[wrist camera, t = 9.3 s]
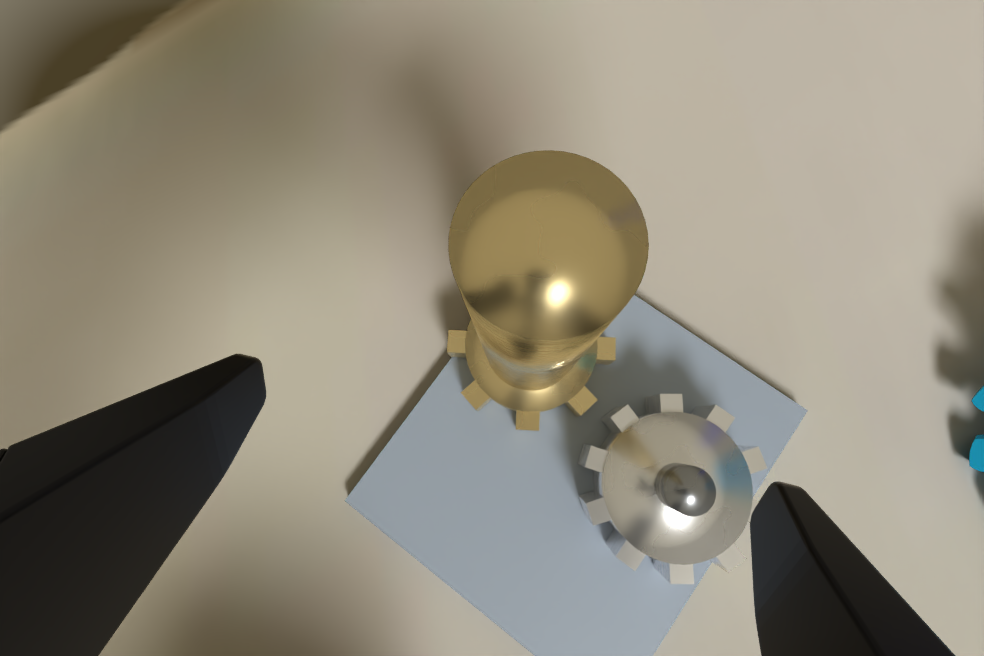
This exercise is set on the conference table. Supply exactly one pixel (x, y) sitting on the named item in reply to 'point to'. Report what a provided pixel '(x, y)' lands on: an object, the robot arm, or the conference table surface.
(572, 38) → the conference table surface
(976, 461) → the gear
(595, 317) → the gear
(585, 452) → the sun gear
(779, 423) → the carrier plate
